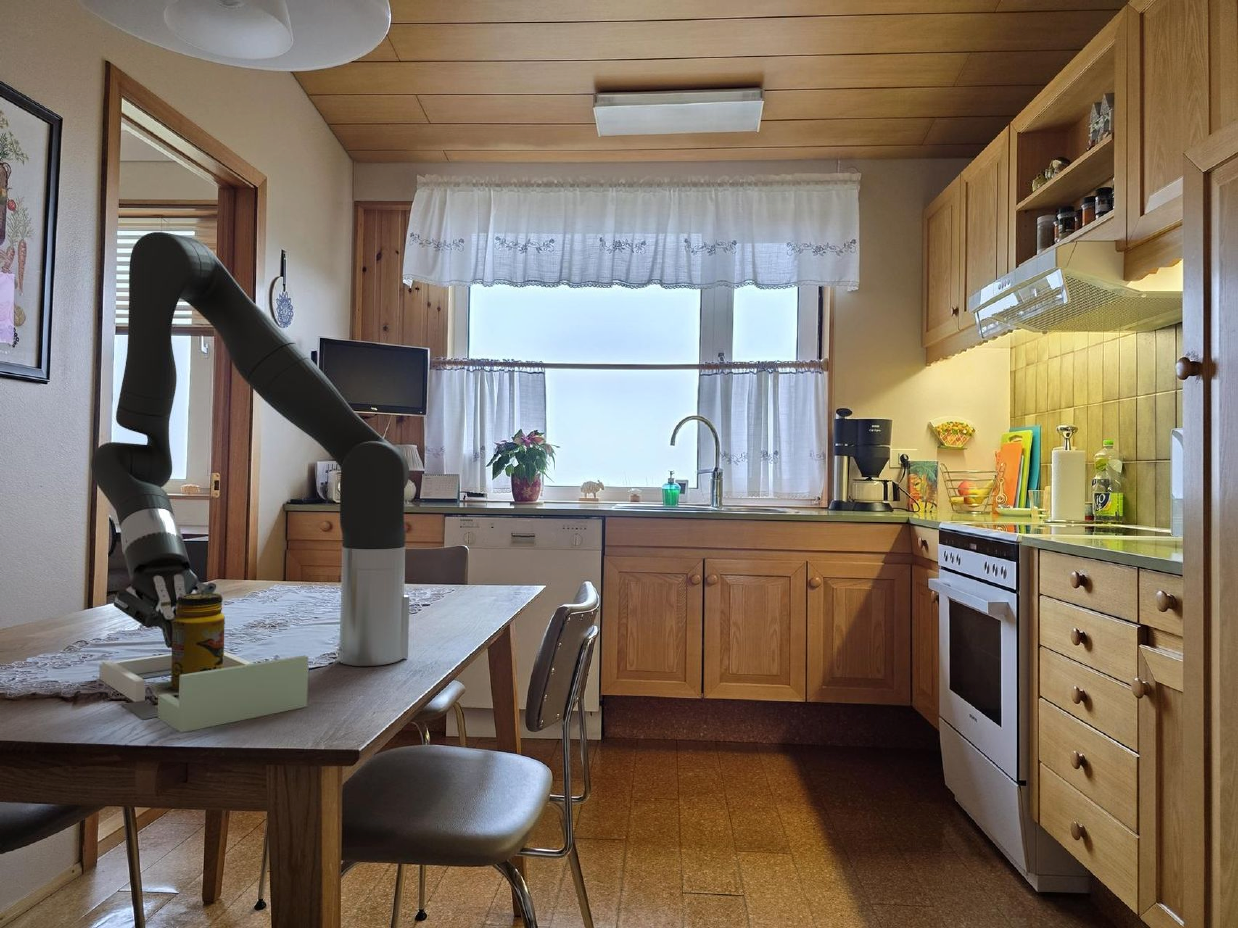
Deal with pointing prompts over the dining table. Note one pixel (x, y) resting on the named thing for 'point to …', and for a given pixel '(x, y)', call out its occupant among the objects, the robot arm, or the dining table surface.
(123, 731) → the dining table surface
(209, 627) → the condiment
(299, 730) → the dining table surface
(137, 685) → the track
